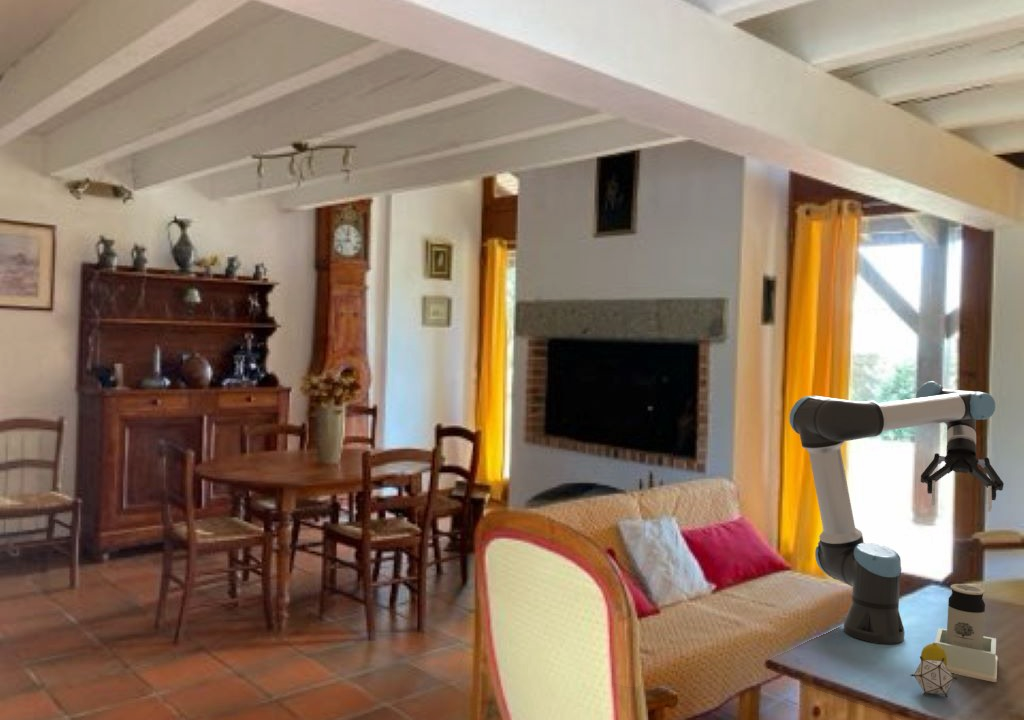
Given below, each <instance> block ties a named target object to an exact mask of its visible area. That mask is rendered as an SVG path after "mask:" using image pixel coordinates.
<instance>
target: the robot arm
mask: <svg viewBox="0 0 1024 720" xmlns="http://www.w3.org/2000/svg"><path fill="white" fill-rule="evenodd" d="M995 411H996V402H995V399H994V397H993V396H992V395H991V394H989V393H987V392H982V391H973V390H963V389H962V390H961V389H960V390H959V389H953V388H945V387H943V386H942V384H939V383H937V382H936V381H934V380H931V381H930V380H929V381H927V382H925V383H923V384H922V385H921V386H920V387H919V388H918V390H917V391H916V395H915V398H909V399H903V400H895V401H887V402H880V403H877V402H876V401H875V400H866V401H859V400H858V401H857V400H856V401H855V400H849V399H848V400H847V399H843V398H842V399H841V398H833V397H826V396H821V395H807V396H803V397H801V398H799V399H798V400H797V401H795V403H794V405H793V406H792V407H791V410H790V413H789V424H790V427H791V428H792V430H793V431H794V432H795V433H796V434H798V435H799V438H800V443H801V447H802V448H803V449H805V450H806V451H807V452H808V455H809V461H810V466H811V473H812V476H813V482H814V488H815V493H816V498H817V504H818V509H819V513H820V519H821V524H822V532H821V533H820V534H819V536H818V537H819V541H818V543H817V544H818V545H817V546H816V547H815V550H814V552H815V554H814V555H815V561H816V564H817V566H818V567H819V568H820V570H821V571H822V572H824V573H825V574H826V575H827V576H829V577H831V578H832V579H834V580H837V581H840V582H842V583H844V584H846V585H848V586H850V587H852V592H851V593H852V595H851V604H850V606H849V609H848V611H847V613H846V615H845V618H844V621H843V631H844V633H845V634H847V635H849V636H850V637H852V638H855V639H858V640H860V639H861V641H864V640H865V642H868V641H869V643H872V644H873V643H875V644H880V645H881V644H883V645H884V644H885V645H892V644H894V645H895V644H900V643H902V642H904V641H905V628H904V624H903V620H902V618H901V614H900V611H899V610H900V609H899V608H900V607H899V606H900V604H899V603H900V591H901V588H900V587H901V576H902V574H901V573H902V566H901V564H902V563H901V562H902V561H901V556H900V555H899V553H897V552H896V551H895V550H894V549H892V548H890V547H887V546H885V545H880V544H877V543H870V542H864V538H863V537H864V536H863V533H862V531H861V530H860V529H858V528H857V527H856V525H855V520H854V514H853V509H852V505H851V499H850V498H851V497H850V494H849V487H848V482H847V476H846V471H845V466H844V460H843V455H842V450H841V447H842V445H843V444H845V442H849V441H855V440H859V439H867V438H871V437H872V438H874V437H877V436H880V435H882V433H883V432H887V431H893V430H900V429H905V428H906V429H907V428H916V427H920V426H927V425H934V424H940V423H941V424H942V423H945V425H946V455H945V456H943V455H940V454H939V453H938V452H937V453H934V456H933V459H932V461H931V462H930V463H929V464H928V466H927V467H926V468H925V470H923V472H922V473H921V475H920V483H922V484H924V483H925V484H926V485H927V486H926V487H927V488H926V489H927V490H926V491H927V492H926V493H927V494H930V495H931V503H930V504H931V506H935V504H936V503H935V501H936V482H938V481H939V480H941V479H942V478H943V477H945V476H947V474H950V473H952V472H954V473H963V474H968V473H969V474H971V476H973V477H975V478H976V479H977V480H978V481H979V482H980V483H982V484H983V485H984V486H985V487H986V488H987V493H986V495H987V497H986V498H987V501H986V502H987V512H992V507H993V503H992V502H993V501H996V499H997V491H1003V489H1004V484H1005V483H1004V482H1003V480H1002V479H1001V477H1000V475H998V474H997V471H996V470H995V468H993V466H992V465H991V461H990V458H989V457H984V458H983V459H978V457H977V431H976V429H977V427H976V426H977V421H978V420H979V421H980V420H983V421H984V420H988V419H990V418H991V417H992V416H993V415H994V413H995ZM942 462H944V463H945V464H944V465H943V466H942V467H941V468H939V469H938V470H936V469H937V468H938V466H939V465H940V464H942ZM979 465H980V466H981V468H982V469H984V471H985V473H986V474H985V473H984V472H983V471H982V470H981V469H980V468H979ZM935 470H936V471H935Z"/></svg>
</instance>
